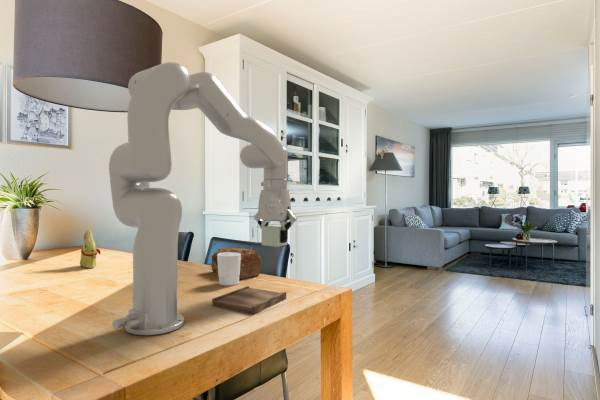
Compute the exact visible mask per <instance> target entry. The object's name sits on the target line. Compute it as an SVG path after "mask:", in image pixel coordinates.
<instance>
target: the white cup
mask: <svg viewBox="0 0 600 400" xmlns="http://www.w3.org/2000/svg"><path fill="white" fill-rule="evenodd" d="M217 260H218V273H217V275H218V285H220V286H224V287H225V286H226V287H228V286H236V285H238V284H239V283H240V279H239V275H240V263H241V254H240V253H236V252H224V253H219V254H217Z"/></svg>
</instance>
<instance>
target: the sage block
mask: <svg viewBox="0 0 600 400" xmlns="http://www.w3.org/2000/svg"><path fill="white" fill-rule="evenodd" d="M281 230H282V228H281V225H275V224H274V225H273V224H272V225H271V224H269V226H262V229H261V246H265V247H276V248H278V247H283V246H288V241H287V242H285V243H280V231H281Z"/></svg>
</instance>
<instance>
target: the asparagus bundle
mask: <svg viewBox="0 0 600 400" xmlns="http://www.w3.org/2000/svg"><path fill="white" fill-rule="evenodd" d="M97 255H101V250H100V248H98V247H97V245H96V242H95V240H94V237H93V233H92V231H91V229H87V230H86V231H85V232H84V234H83V245H82V247H81V250H80V260H79V265H80V266H81V267H83V268H86V269H90V270H91V269H94V268H95V267H96V266H97Z"/></svg>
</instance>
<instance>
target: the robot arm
mask: <svg viewBox="0 0 600 400" xmlns="http://www.w3.org/2000/svg"><path fill="white" fill-rule="evenodd" d="M127 88H128V89H127V90H128V93H129V95H130V100H129V103H128V107H127V115H126V117H127V120H126V121H127V136H128V141H127V142H124V143H122V144H119V145H118V146H117V147H115V149H114V150H113V151H112V153H111V155H110V158H109V163H108V173H109V174H108V175H109V181H110V182H109V183H110V191H111V201H112V207H113V210H114V211H113V212H114V214H115V216H116V218H117V219H118V221H119V222H120V223H121V224H122V225H124V226H127V227H130V228H136V229H137V232H136V235H135V237H134V241H133V247H132V248H133V249H132V308H131V309H128V314H126V315H125V317H120V318H117V319H114V320H113V321H112V327H113V329H114V330H117V329H121V328H124V330H125V331H126V332H127V333H128V334H131V335H137V336H155V335H162V334H166V333H169V332H173V331H175V330H178V329H180V328H181V327H182V326H184V324H185V317H184V316H183V315H182V314H180V313H178V259H179V258H178V253H179V252H178V249H179V248H178V245H179V244H178V243H179V232H180V226H181V223H182V222H181V221H182V216H183V206H182V202H181V200H180V198H179V197H178V196H177V194H175V193H174V192H173V191H171V190H169V189H167V188H161V187H150V183H156V182H161V181H163V180H165V179H167V178H168V177H169V175H170V174H171V171H172V153H171V152H172V151H171V144H170V143H171V141H170V130H169V122H170V121H169V119H170V114H171V111H172V110H173V111H187V110H193V109H194V110H195V109H199V111H201V112H202V114H203V115H204V116H205V117H206V118H207V119H208V120H209V122H211V124H212V125H213V126H214V128H216V129H217V131H219V133H220V134H222V135H225V136H229V137H231V138H233V139H238V140H241V141H245V142H247V143H250V144H247V145H245V146H244V147H243V148H242V149H241V150H240V153H239V160H240V161H241V163H242V164H243V166H245V167H246V168H249V169H263V181H261V182H260V186H261V187H263V189H261V190H260V193H259V197H258V206H257V207H258V208H257V213H255V215H254V216H253V219H254V220H255V221H256V223H257V224H258V226H259V228H260V229H261V230H262V226H269V225H270V223H271V222H279V226H281V228H282V230H281V231H280V243H285V242H287V243H288V240H289V239H288V237H289V236H288V233H289V232H288V230H290V228H291V227H292V226H293V225H294V224H295V223H296V221H297V217H296V216H295V214H294V213H293V212H292V204H291V202H292V201H291V196H290V195H291V194H290V190H289V189H288V149H287V148H286V147H284V145H283V143H282V142H281V140H280V139H279V138H278V136H277V135H276V133H275V132H274V131H273V130H272V129H271V128H270V127H268V126H267V125H266V124H265V123H263V122H261V121H259V120H258V119H256V118H255V117H253V116H251V115H249V114H247V113H245V112H244V111H243V110H242V109H241V107H239V105H238V104H237V103H236V101H235V100H234V99H233V98H232V96H231V95H230V94H229V93H228V91H227V90H226V88H225V87H224V86H223V85H222V83H221V82H220V81H219V80H218V79H217V77H216V76H215V75H213V74H212V73H210V72H206V71H203V72H202V71H201V72H196V73H192V74H189V72H188V70H187V68H185V67H184V65H181V64H180V63H177V62H172V61H171V62H170V61H168V62H163V63H161V64H158V65H155V66H151V67H150V68H146V69H144V70H140V71H139V72H136V73H135V74H134V75H132V76H131V77H130V79H129V81H128V84H127Z"/></svg>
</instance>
